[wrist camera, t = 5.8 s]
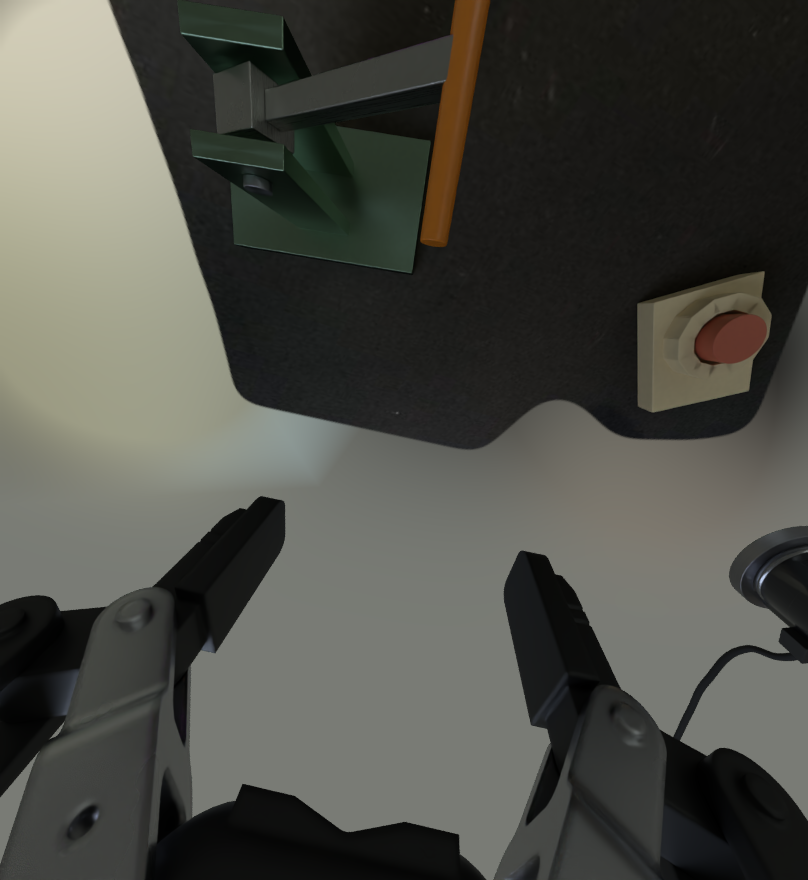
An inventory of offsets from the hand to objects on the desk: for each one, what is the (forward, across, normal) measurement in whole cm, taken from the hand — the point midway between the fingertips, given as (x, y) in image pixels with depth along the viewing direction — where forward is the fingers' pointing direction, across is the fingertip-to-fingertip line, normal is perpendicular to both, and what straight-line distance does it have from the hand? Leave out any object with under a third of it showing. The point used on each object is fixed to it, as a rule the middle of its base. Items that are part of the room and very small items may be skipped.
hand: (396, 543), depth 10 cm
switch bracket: (+23, +11, -14) cm, 29 cm away
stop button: (+21, -23, -9) cm, 32 cm away
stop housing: (+24, -23, -8) cm, 34 cm away
